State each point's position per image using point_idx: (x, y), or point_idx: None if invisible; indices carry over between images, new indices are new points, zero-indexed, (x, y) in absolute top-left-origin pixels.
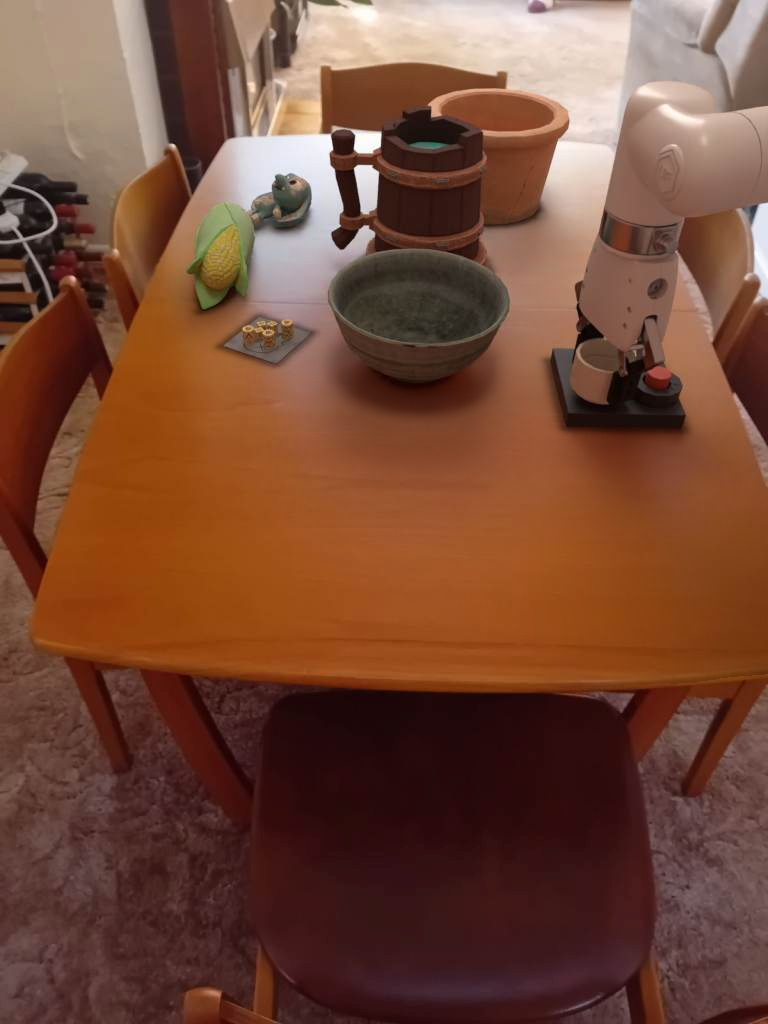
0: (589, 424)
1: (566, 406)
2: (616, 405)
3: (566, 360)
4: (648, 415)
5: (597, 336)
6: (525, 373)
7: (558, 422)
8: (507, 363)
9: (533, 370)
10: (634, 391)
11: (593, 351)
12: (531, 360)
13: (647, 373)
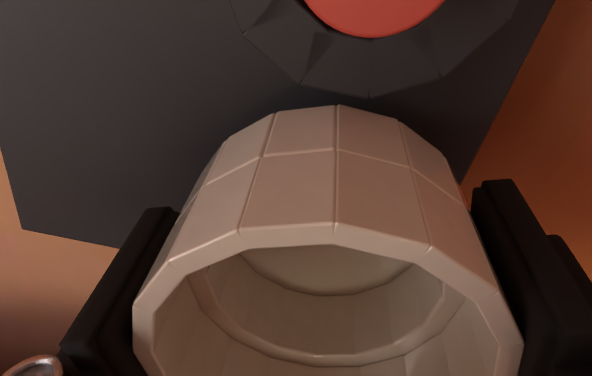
0: None
1: None
2: None
3: (97, 216)
4: (529, 50)
5: (129, 363)
6: None
7: None
8: (86, 292)
9: (113, 250)
10: (574, 258)
11: (184, 303)
12: (59, 239)
13: (350, 33)
